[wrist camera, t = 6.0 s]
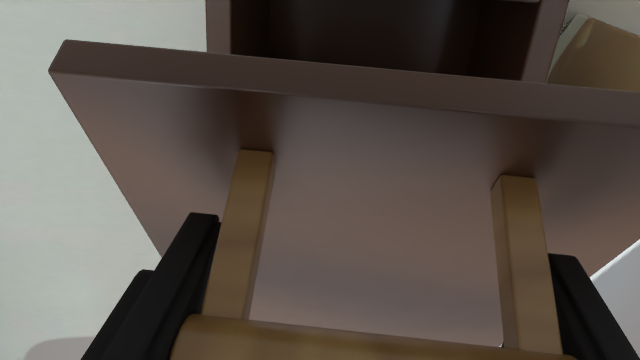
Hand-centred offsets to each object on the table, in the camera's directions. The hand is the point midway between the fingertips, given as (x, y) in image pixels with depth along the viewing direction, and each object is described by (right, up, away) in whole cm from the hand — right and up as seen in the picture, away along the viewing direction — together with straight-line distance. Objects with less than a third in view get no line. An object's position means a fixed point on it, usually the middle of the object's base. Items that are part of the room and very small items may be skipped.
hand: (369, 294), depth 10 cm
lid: (0, 0, +5) cm, 5 cm away
